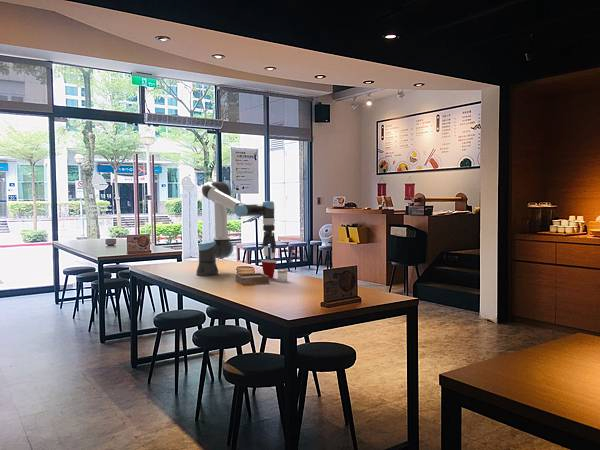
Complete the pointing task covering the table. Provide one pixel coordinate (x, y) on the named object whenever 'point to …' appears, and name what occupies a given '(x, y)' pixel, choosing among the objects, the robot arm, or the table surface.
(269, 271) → the plastic cup
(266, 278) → the walnut riser
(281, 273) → the ceramic sugar jar
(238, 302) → the table surface
